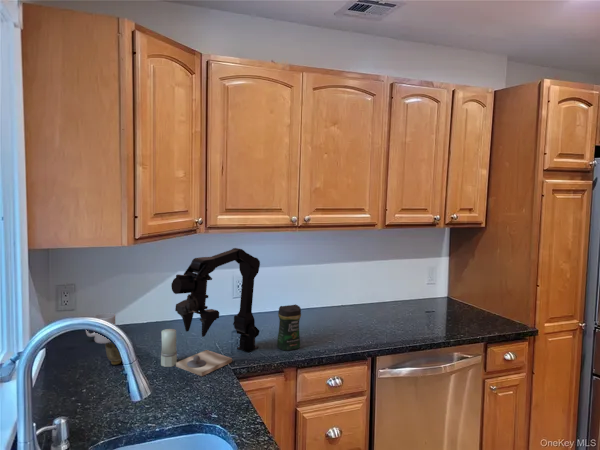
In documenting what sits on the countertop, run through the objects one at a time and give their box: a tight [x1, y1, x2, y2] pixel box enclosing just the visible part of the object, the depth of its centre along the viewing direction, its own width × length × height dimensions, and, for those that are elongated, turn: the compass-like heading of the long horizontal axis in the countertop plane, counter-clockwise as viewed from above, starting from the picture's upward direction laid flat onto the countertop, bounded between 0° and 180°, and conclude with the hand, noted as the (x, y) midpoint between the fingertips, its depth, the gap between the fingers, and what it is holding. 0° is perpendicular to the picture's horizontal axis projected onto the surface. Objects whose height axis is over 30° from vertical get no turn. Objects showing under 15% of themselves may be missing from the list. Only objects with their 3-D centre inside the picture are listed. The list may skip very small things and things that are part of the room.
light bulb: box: [160, 328, 178, 368], centre depth 170 cm, size 6×6×13 cm
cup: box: [104, 342, 122, 366], centre depth 169 cm, size 8×7×8 cm
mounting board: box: [175, 349, 233, 377], centre depth 171 cm, size 16×14×5 cm
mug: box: [85, 312, 116, 344], centre depth 192 cm, size 12×8×11 cm
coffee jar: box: [276, 304, 302, 351], centre depth 190 cm, size 10×8×19 cm
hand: (195, 333), depth 165 cm, fingers open, 9 cm apart
